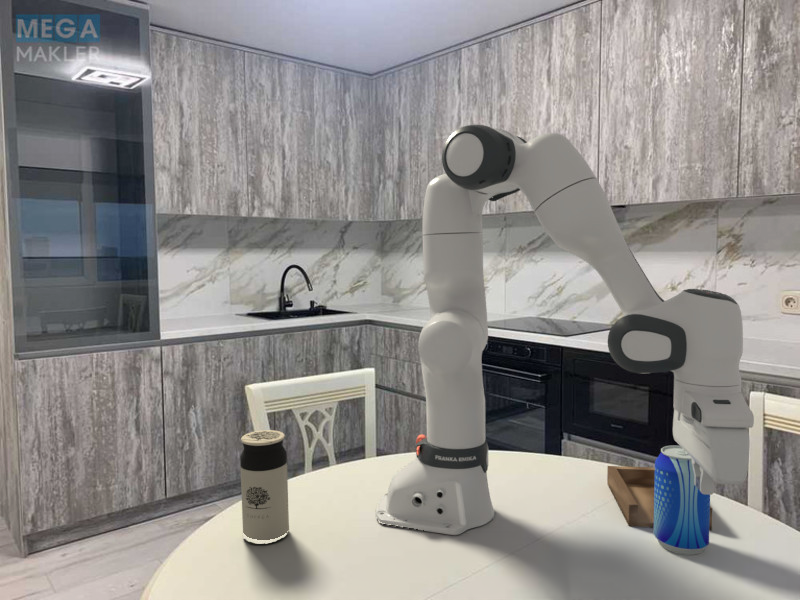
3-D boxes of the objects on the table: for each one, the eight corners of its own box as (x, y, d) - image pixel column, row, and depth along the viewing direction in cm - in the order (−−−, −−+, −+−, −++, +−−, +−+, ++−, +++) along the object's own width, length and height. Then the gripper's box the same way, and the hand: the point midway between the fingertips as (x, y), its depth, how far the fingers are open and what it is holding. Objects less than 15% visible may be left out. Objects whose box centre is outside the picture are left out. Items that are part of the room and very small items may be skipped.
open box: (628, 526, 106) (629, 504, 106) (607, 484, 126) (607, 465, 125) (711, 530, 104) (712, 508, 104) (677, 487, 124) (677, 468, 123)
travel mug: (261, 522, 110) (257, 427, 109) (297, 529, 107) (294, 432, 106) (233, 541, 103) (229, 440, 102) (272, 549, 100) (268, 445, 99)
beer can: (715, 559, 95) (718, 461, 93) (659, 555, 96) (661, 459, 95) (700, 534, 103) (702, 444, 102) (648, 531, 104) (650, 442, 103)
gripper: (663, 383, 98) (661, 465, 99) (708, 417, 78) (705, 519, 79) (704, 384, 97) (701, 466, 98) (760, 419, 77) (756, 522, 78)
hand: (703, 490), depth 88 cm, fingers closed
